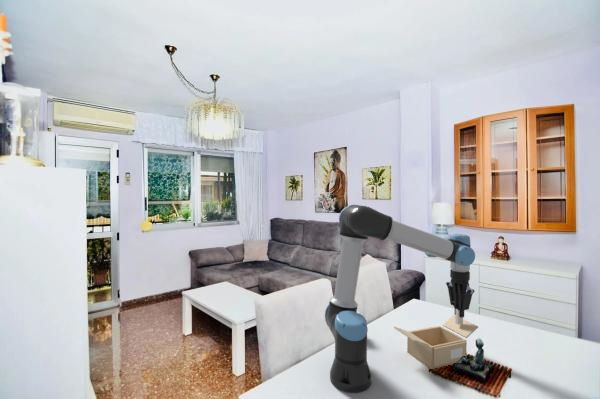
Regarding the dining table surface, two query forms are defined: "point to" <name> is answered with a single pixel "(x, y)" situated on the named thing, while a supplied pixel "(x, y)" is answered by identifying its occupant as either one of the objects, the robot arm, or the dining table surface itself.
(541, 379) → the dining table surface
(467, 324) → the far flap
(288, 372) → the dining table surface
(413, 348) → the carton
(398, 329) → the near flap
